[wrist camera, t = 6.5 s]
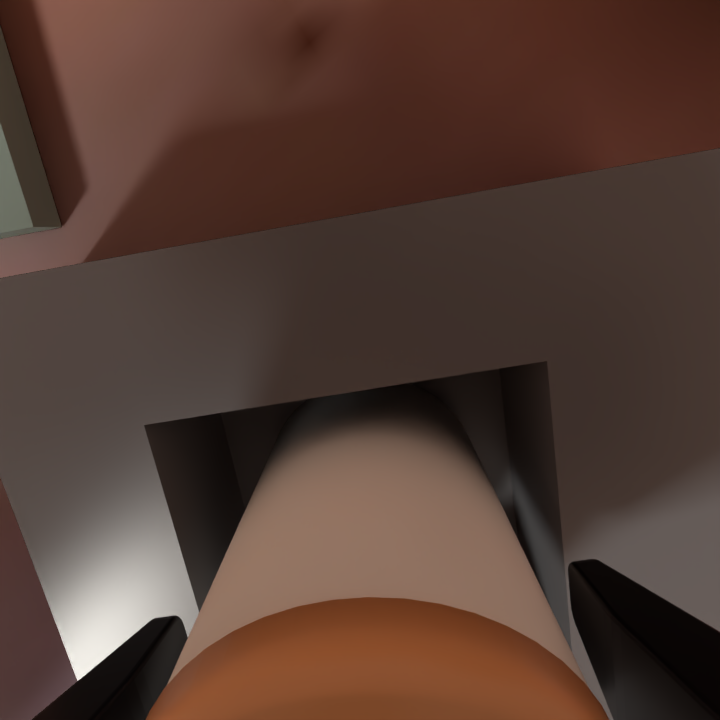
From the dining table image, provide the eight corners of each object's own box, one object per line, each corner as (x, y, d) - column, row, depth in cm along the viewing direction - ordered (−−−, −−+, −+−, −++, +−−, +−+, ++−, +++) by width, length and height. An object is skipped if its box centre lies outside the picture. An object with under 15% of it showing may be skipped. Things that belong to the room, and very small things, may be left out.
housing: (274, 923, 17) (247, 1127, 13) (75, 271, 12) (-71, 290, 8) (638, 888, 16) (722, 1094, 12) (600, 176, 11) (724, 147, 7)
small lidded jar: (292, 579, 13) (167, 1135, 5) (247, 394, 12) (-10, 737, 4) (488, 552, 13) (690, 1096, 5) (465, 359, 12) (681, 653, 4)
